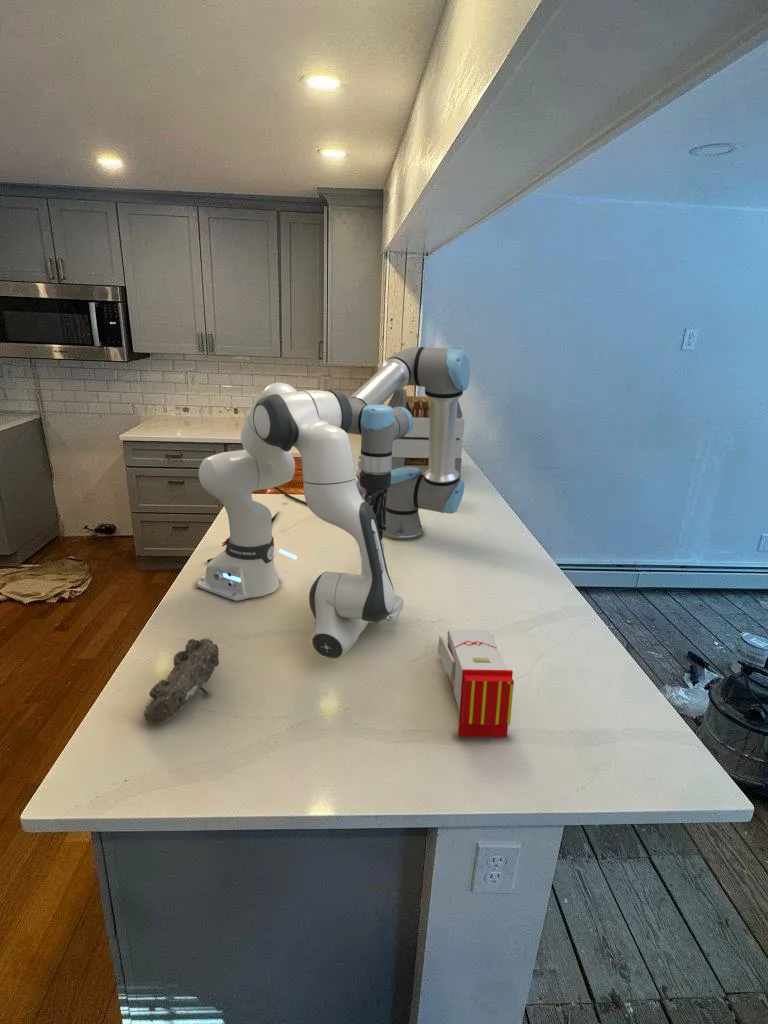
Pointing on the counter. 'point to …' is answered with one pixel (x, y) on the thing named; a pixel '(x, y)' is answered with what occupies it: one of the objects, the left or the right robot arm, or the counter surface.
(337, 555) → the counter surface
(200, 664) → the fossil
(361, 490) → the figurine
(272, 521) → the feather
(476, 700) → the toy
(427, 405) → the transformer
